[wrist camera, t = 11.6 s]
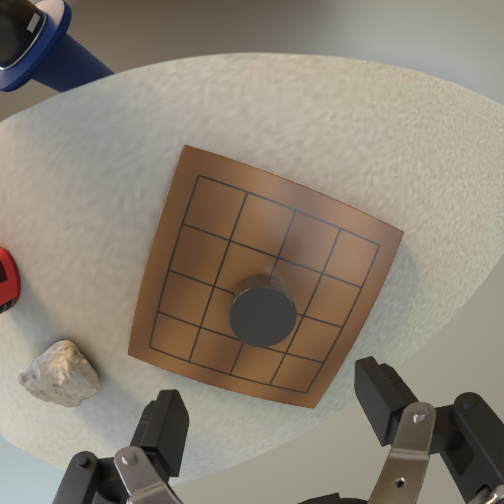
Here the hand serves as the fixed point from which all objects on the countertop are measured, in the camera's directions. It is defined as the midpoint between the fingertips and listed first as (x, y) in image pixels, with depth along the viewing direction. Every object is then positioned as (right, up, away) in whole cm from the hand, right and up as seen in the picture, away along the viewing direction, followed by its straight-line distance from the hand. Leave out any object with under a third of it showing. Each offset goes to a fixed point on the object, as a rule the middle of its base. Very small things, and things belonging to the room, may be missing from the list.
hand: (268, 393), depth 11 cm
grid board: (0, +2, +13) cm, 13 cm away
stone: (-23, -8, +15) cm, 29 cm away
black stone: (0, +2, +12) cm, 12 cm away
